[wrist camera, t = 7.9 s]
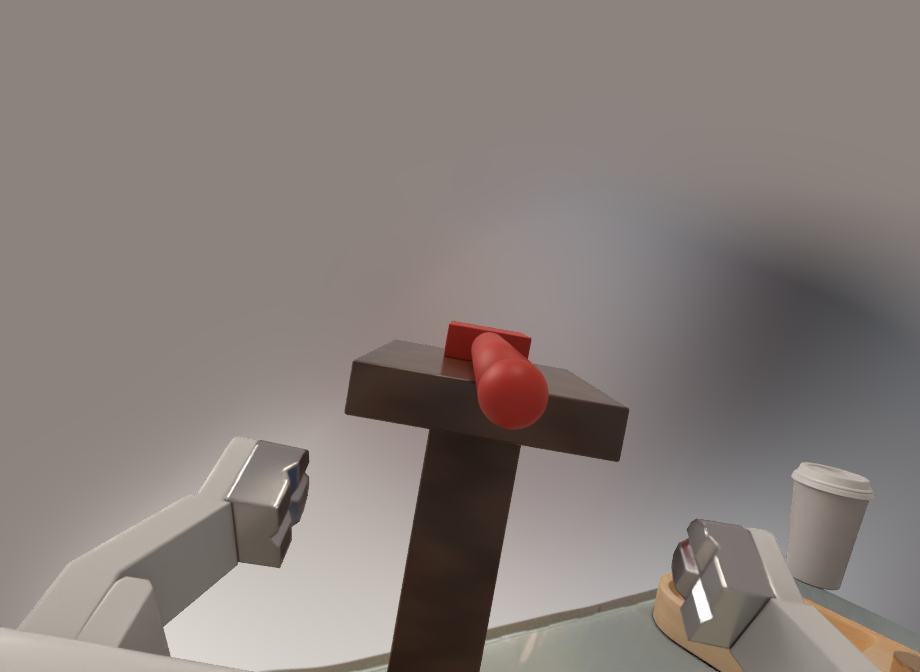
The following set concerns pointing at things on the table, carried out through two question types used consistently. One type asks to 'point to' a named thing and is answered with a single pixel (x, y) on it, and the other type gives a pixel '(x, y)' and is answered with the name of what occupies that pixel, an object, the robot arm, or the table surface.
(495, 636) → the table surface
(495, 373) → the red toy mallet
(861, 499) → the coffee cup
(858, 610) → the table surface
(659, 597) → the lamp
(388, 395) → the brown stand
